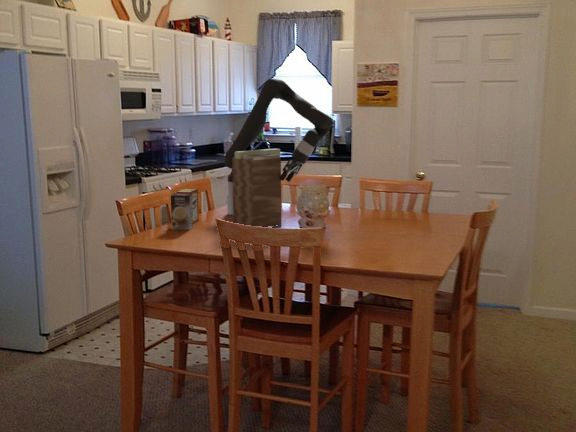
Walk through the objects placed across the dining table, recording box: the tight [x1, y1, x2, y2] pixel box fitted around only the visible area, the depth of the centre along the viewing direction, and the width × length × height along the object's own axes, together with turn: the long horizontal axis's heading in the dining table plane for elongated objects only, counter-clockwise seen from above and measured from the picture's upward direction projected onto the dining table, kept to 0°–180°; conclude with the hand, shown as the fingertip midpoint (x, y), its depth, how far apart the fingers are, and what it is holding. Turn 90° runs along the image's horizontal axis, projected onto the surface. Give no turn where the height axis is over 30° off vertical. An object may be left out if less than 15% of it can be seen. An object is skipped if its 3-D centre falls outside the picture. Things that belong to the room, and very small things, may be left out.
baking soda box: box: [176, 188, 200, 224], centre depth 310 cm, size 10×6×16 cm
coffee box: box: [170, 192, 194, 231], centre depth 295 cm, size 9×6×16 cm
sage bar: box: [235, 148, 281, 159], centre depth 302 cm, size 4×24×3 cm, turn 130°
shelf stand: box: [232, 154, 282, 227], centre depth 299 cm, size 16×16×34 cm
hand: (284, 180), depth 300 cm, fingers open, 8 cm apart
